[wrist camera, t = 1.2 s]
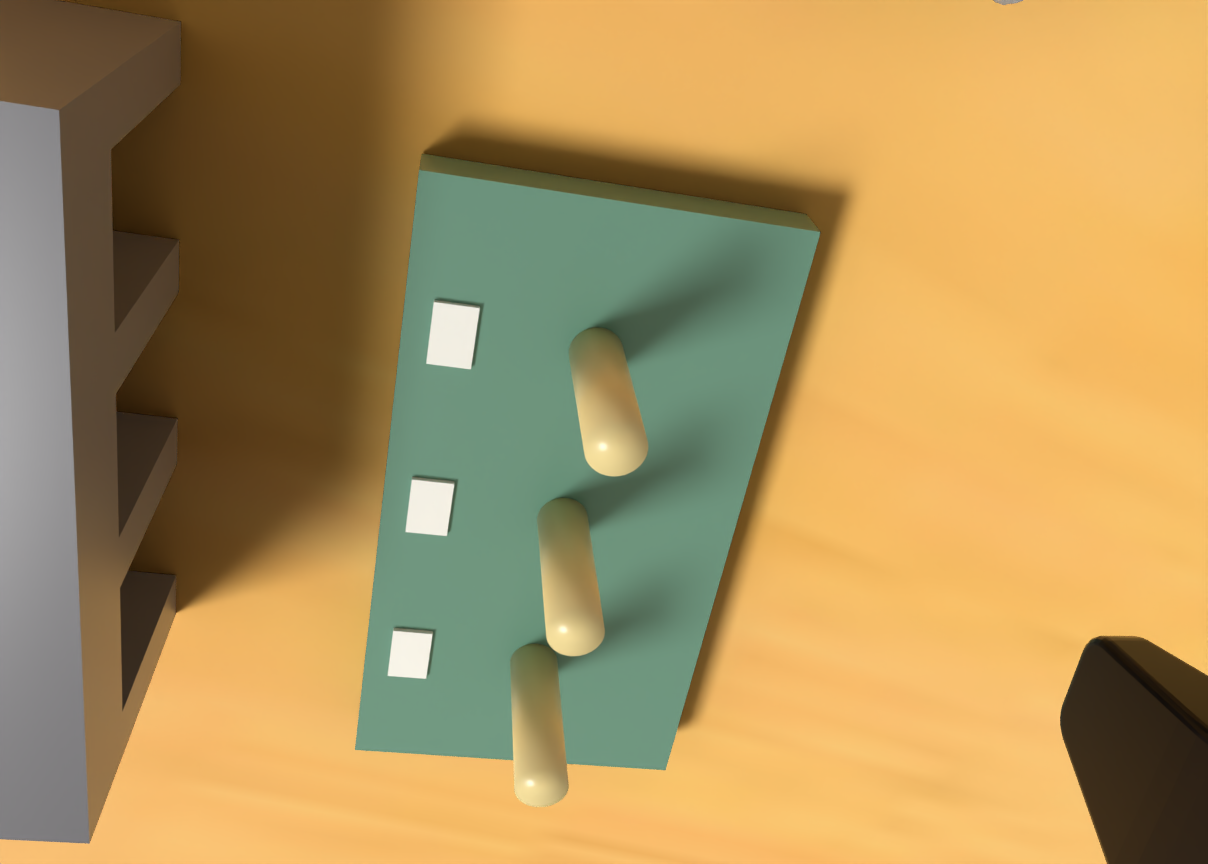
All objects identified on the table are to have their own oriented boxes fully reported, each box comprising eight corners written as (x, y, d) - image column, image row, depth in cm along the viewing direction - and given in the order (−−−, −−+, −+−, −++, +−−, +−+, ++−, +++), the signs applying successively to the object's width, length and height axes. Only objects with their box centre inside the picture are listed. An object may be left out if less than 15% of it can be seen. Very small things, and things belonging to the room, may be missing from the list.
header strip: (421, 153, 19) (406, 242, 15) (805, 214, 21) (882, 310, 17) (359, 717, 25) (337, 883, 21) (659, 738, 27) (690, 899, 23)
